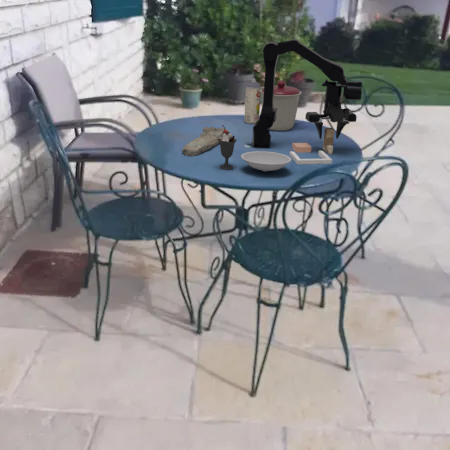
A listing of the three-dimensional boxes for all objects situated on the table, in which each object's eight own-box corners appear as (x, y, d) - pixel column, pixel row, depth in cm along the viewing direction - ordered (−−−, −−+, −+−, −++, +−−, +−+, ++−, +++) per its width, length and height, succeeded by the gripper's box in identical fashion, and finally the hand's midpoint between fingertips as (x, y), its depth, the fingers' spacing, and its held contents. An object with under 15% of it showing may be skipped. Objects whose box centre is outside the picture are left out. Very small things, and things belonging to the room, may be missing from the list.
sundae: (216, 164, 200) (217, 123, 194) (234, 164, 200) (236, 123, 194) (217, 170, 194) (218, 128, 188) (236, 170, 194) (238, 128, 188)
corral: (297, 164, 202) (297, 160, 202) (289, 154, 213) (289, 151, 212) (331, 163, 204) (332, 159, 204) (321, 154, 215) (322, 150, 214)
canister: (249, 127, 250) (252, 79, 241) (277, 121, 261) (280, 75, 252) (279, 135, 238) (282, 85, 229) (306, 129, 249) (311, 81, 240)
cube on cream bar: (334, 154, 216) (336, 131, 212) (326, 154, 215) (329, 131, 212) (327, 148, 222) (330, 126, 219) (320, 148, 222) (323, 126, 218)
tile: (296, 153, 216) (296, 147, 215) (291, 149, 221) (292, 142, 220) (310, 153, 217) (311, 146, 216) (306, 148, 222) (307, 142, 221)
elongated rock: (175, 158, 211) (198, 163, 208) (175, 144, 208) (199, 149, 205) (212, 131, 239) (234, 136, 236) (213, 120, 237) (234, 124, 234)
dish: (293, 167, 199) (294, 154, 197) (286, 180, 186) (287, 166, 184) (245, 162, 203) (246, 149, 201) (235, 174, 190) (236, 160, 188)
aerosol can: (257, 124, 254) (259, 80, 246) (242, 123, 256) (244, 79, 247) (260, 121, 260) (262, 77, 252) (245, 120, 262) (247, 76, 253)
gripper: (315, 103, 202) (311, 144, 208) (364, 102, 205) (359, 144, 211) (306, 96, 212) (303, 136, 218) (353, 96, 215) (348, 136, 221)
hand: (328, 138), depth 217 cm, fingers open, 6 cm apart
